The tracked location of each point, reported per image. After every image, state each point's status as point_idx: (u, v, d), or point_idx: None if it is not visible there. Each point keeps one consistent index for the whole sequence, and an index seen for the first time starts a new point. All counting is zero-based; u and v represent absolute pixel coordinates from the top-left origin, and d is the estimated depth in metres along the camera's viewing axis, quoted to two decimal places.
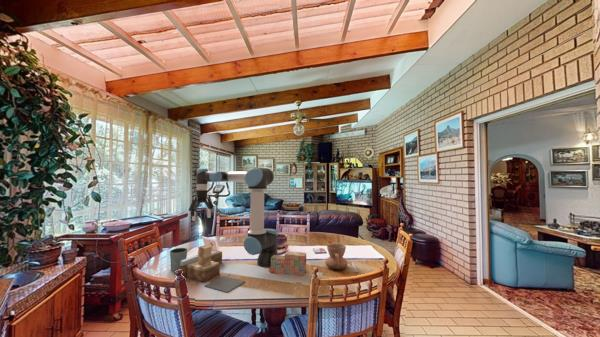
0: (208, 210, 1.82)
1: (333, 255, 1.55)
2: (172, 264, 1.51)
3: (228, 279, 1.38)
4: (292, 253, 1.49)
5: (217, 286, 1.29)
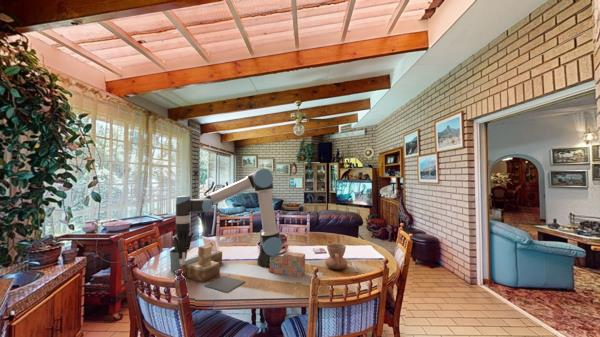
0: None
1: (333, 255, 1.55)
2: (172, 264, 1.51)
3: (228, 279, 1.38)
4: (290, 253, 1.48)
5: (217, 286, 1.29)
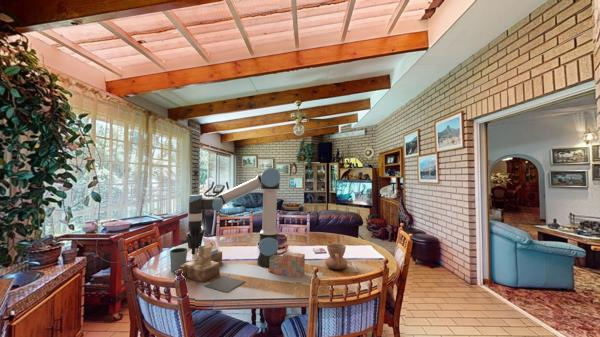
0: None
1: (333, 255, 1.55)
2: (172, 264, 1.51)
3: (228, 279, 1.38)
4: (290, 254, 1.48)
5: (217, 286, 1.29)
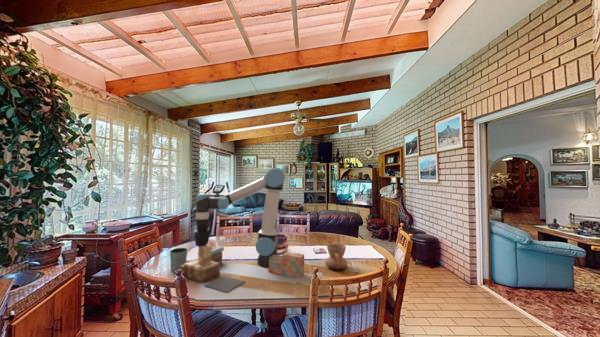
0: None
1: (333, 255, 1.55)
2: (172, 264, 1.51)
3: (228, 279, 1.38)
4: (290, 254, 1.48)
5: (217, 286, 1.29)
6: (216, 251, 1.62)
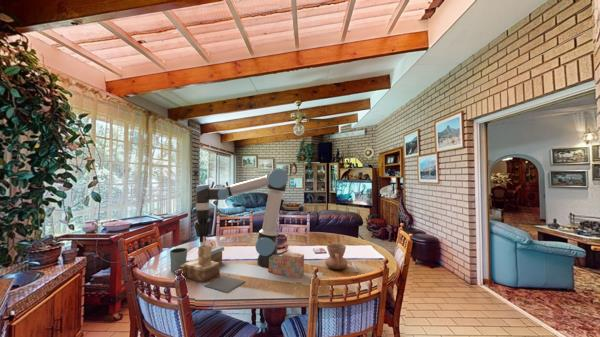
0: None
1: (333, 255, 1.55)
2: (172, 264, 1.51)
3: (228, 279, 1.38)
4: (289, 254, 1.48)
5: (217, 286, 1.29)
6: (216, 251, 1.62)
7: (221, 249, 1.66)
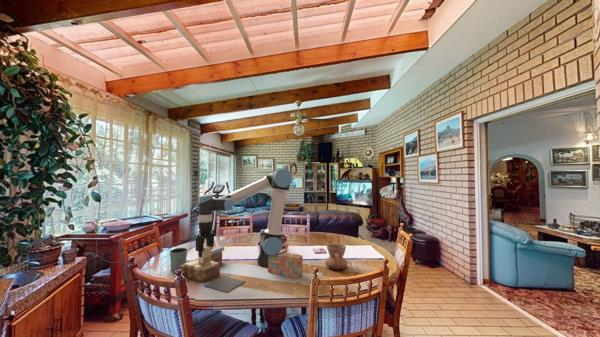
0: None
1: (333, 255, 1.55)
2: (172, 264, 1.51)
3: (228, 279, 1.38)
4: (288, 254, 1.47)
5: (217, 286, 1.29)
6: (216, 251, 1.62)
7: (221, 249, 1.66)
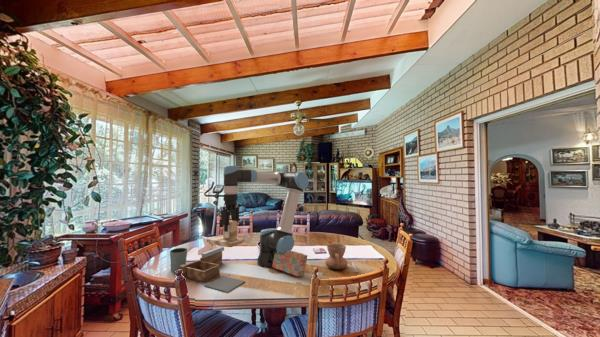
0: None
1: (333, 255, 1.55)
2: (172, 264, 1.51)
3: (228, 279, 1.38)
4: (294, 252, 1.50)
5: (217, 286, 1.29)
6: (216, 251, 1.62)
7: (221, 249, 1.66)
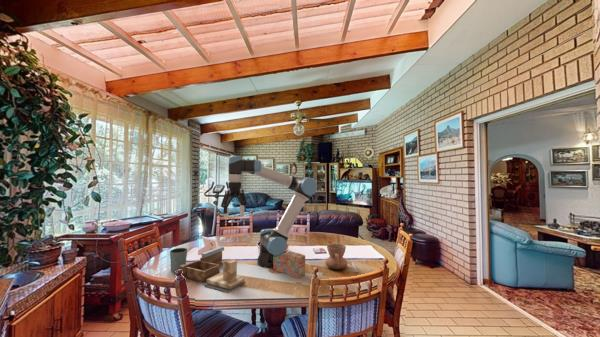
0: (241, 207, 1.51)
1: (333, 255, 1.55)
2: (172, 264, 1.51)
3: None
4: (291, 253, 1.49)
5: (217, 286, 1.29)
6: (216, 251, 1.62)
7: (221, 249, 1.66)
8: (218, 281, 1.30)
